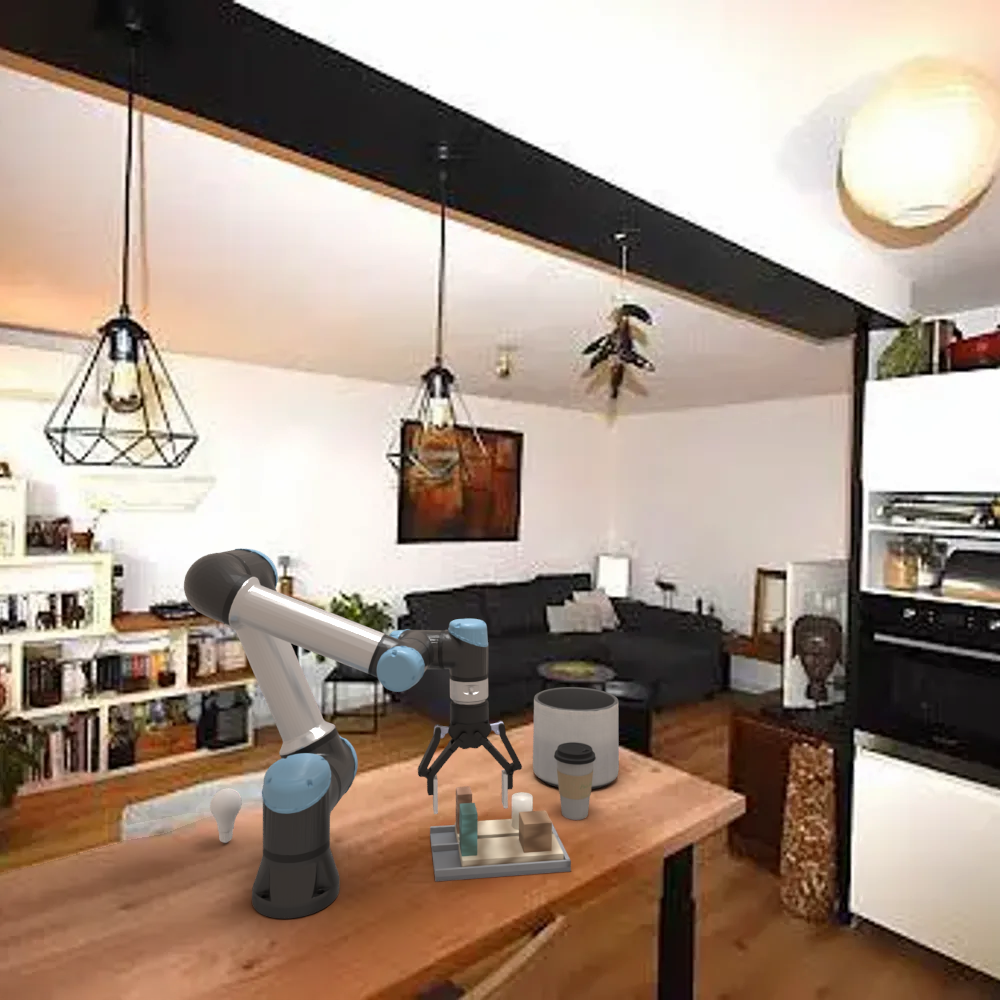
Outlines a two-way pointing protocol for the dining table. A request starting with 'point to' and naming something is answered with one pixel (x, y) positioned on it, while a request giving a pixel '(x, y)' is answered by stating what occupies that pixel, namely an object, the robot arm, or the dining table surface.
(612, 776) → the planter
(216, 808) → the lightbulb
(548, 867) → the lane board
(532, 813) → the walnut cube
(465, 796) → the strip
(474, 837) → the strip
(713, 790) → the dining table surface
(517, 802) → the stoneware cylinder
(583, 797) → the coffee cup
